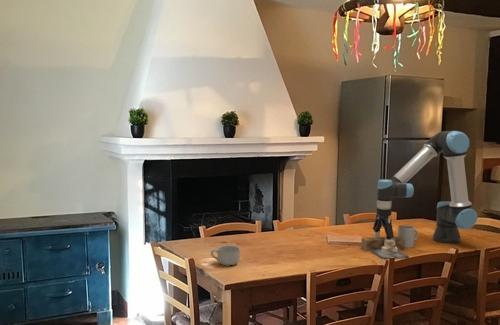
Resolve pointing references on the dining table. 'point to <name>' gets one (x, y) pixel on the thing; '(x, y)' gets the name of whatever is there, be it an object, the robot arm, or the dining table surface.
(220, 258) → the teacup
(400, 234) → the mug
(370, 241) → the beam
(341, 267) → the dining table surface
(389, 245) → the fulcrum
